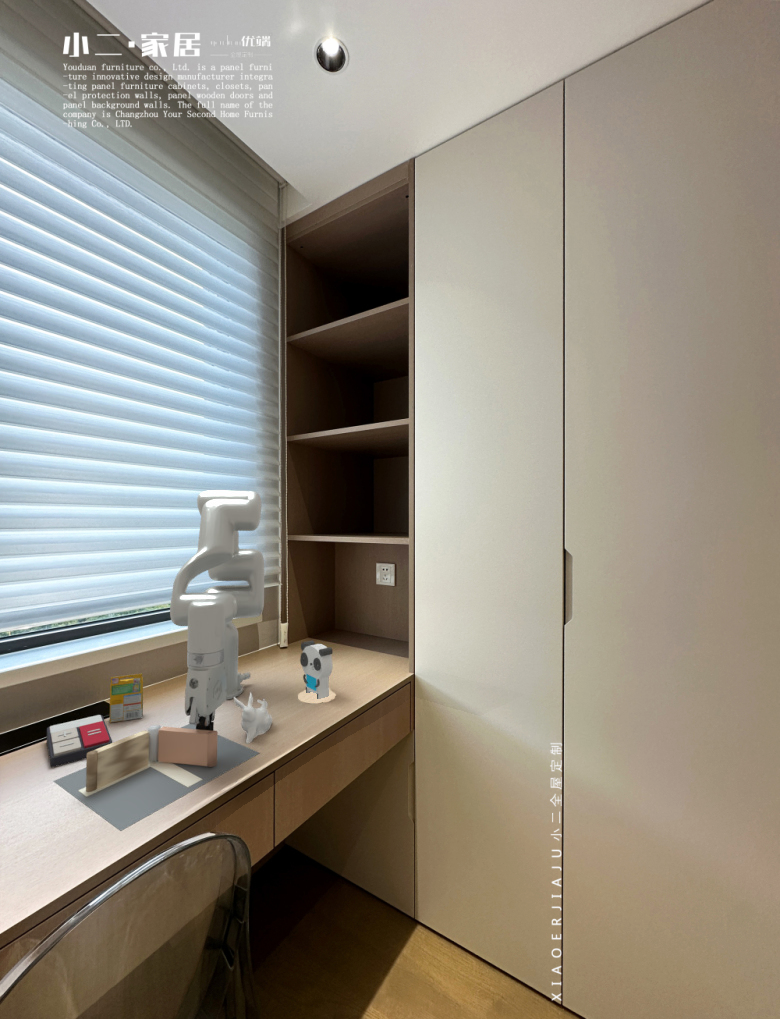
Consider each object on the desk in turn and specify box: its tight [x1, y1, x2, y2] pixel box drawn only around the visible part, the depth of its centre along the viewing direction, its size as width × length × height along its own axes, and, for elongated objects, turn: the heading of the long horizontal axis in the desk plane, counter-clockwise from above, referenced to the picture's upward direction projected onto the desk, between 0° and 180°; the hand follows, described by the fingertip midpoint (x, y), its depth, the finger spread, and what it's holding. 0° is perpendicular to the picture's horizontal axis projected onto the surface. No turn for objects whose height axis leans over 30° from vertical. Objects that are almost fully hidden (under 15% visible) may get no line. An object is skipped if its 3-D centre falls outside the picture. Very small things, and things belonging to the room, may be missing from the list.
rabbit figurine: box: [233, 692, 273, 744], centre depth 112 cm, size 12×8×10 cm, turn 155°
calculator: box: [46, 714, 113, 768], centre depth 104 cm, size 11×4×15 cm
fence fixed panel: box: [85, 729, 149, 792], centre depth 92 cm, size 12×2×7 cm, turn 147°
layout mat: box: [53, 723, 260, 832], centre depth 96 cm, size 30×25×1 cm
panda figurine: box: [299, 640, 334, 699], centre depth 136 cm, size 12×11×15 cm
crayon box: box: [109, 672, 144, 724], centre depth 119 cm, size 7×3×12 cm, turn 115°
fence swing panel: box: [147, 724, 219, 767], centre depth 97 cm, size 15×2×7 cm, turn 82°
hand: (204, 741), depth 100 cm, fingers closed
